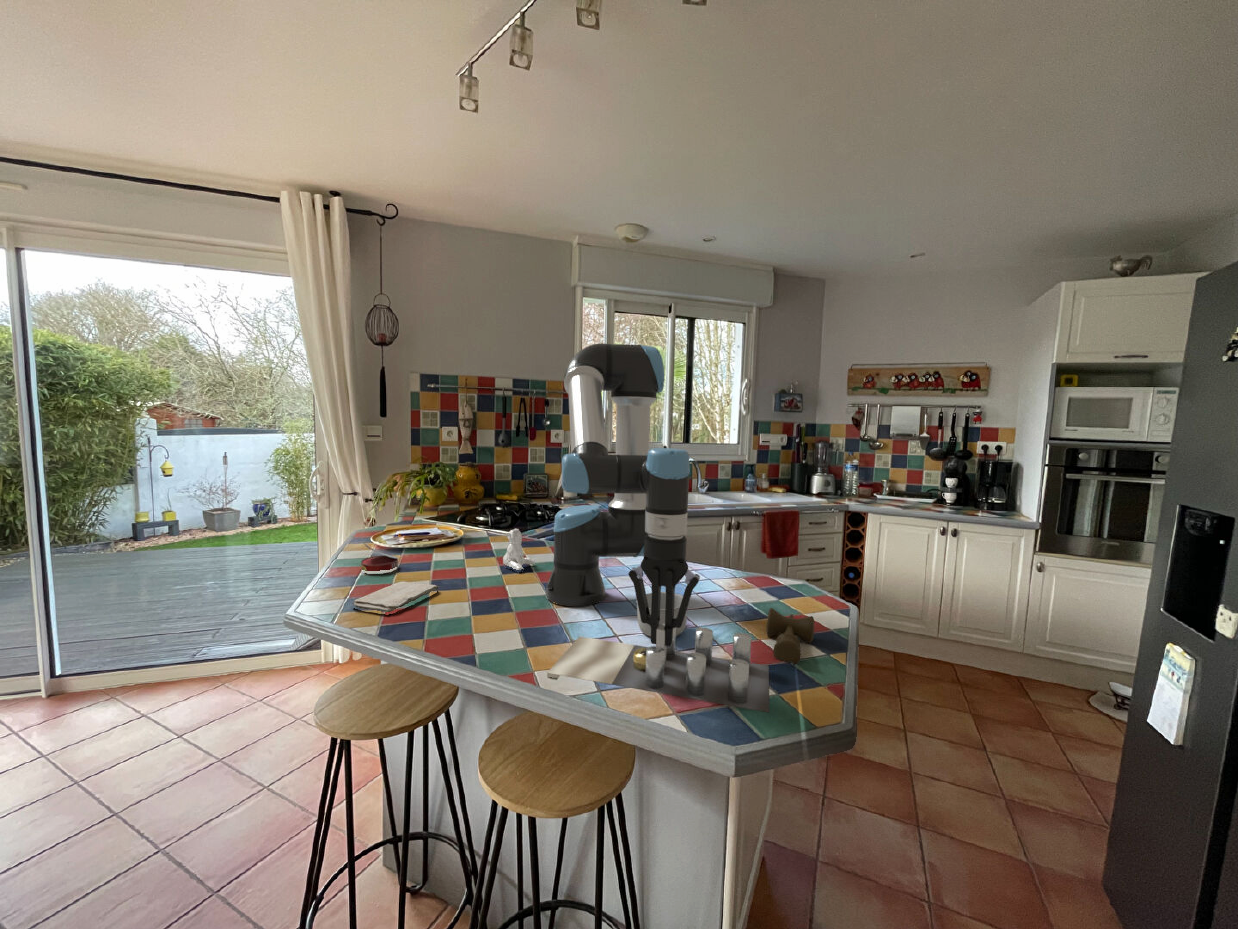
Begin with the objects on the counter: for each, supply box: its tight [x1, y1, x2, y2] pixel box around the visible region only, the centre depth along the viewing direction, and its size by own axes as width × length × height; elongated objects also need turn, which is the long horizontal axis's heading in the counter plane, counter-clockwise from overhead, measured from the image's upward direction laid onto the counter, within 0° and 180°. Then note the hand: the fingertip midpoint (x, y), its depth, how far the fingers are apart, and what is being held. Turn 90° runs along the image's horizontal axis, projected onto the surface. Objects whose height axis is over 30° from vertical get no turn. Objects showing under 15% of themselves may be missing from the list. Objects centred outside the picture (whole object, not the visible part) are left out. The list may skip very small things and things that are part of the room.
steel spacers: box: [645, 623, 752, 704], centre depth 91 cm, size 17×14×6 cm
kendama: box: [766, 607, 815, 666], centre depth 107 cm, size 6×10×20 cm
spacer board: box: [546, 636, 770, 713], centre depth 93 cm, size 38×16×1 cm, turn 74°
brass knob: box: [633, 648, 647, 672], centre depth 94 cm, size 4×4×2 cm
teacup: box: [635, 591, 688, 638], centre depth 111 cm, size 14×11×8 cm
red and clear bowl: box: [360, 542, 399, 571], centre depth 150 cm, size 11×10×10 cm
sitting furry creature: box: [502, 528, 536, 570], centre depth 155 cm, size 10×9×12 cm
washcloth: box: [352, 580, 440, 613], centre depth 126 cm, size 12×18×3 cm, turn 164°
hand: (660, 661), depth 93 cm, fingers closed
